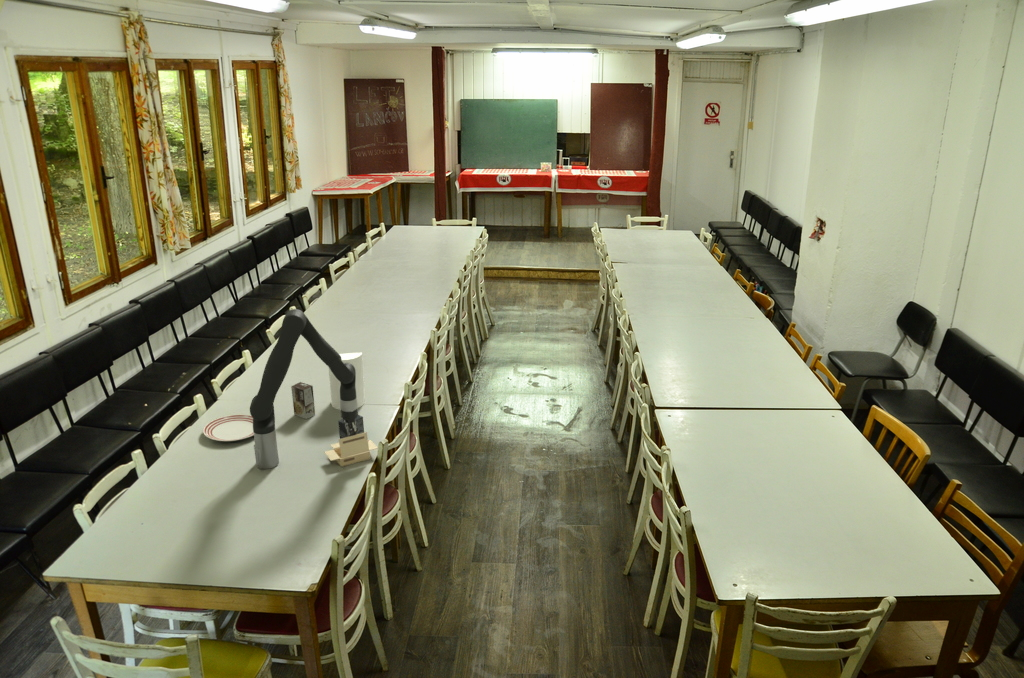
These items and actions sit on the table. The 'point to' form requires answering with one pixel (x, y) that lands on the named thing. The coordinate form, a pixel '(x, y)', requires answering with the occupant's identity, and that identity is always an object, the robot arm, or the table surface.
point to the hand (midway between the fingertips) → (351, 441)
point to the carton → (336, 455)
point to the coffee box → (303, 400)
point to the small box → (358, 424)
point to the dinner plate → (230, 428)
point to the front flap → (354, 445)
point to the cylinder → (357, 362)
